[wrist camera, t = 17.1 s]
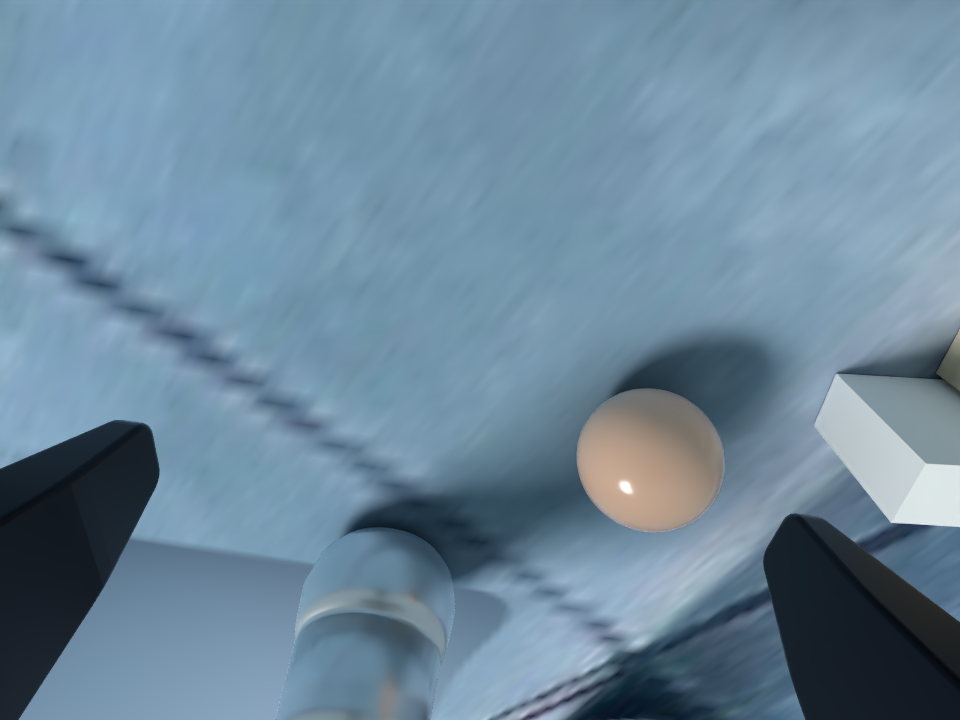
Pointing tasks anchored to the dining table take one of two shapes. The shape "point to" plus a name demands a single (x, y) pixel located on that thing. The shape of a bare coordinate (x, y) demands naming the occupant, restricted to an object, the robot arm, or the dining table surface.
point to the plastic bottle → (370, 630)
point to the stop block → (898, 443)
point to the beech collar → (951, 364)
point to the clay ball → (650, 460)
